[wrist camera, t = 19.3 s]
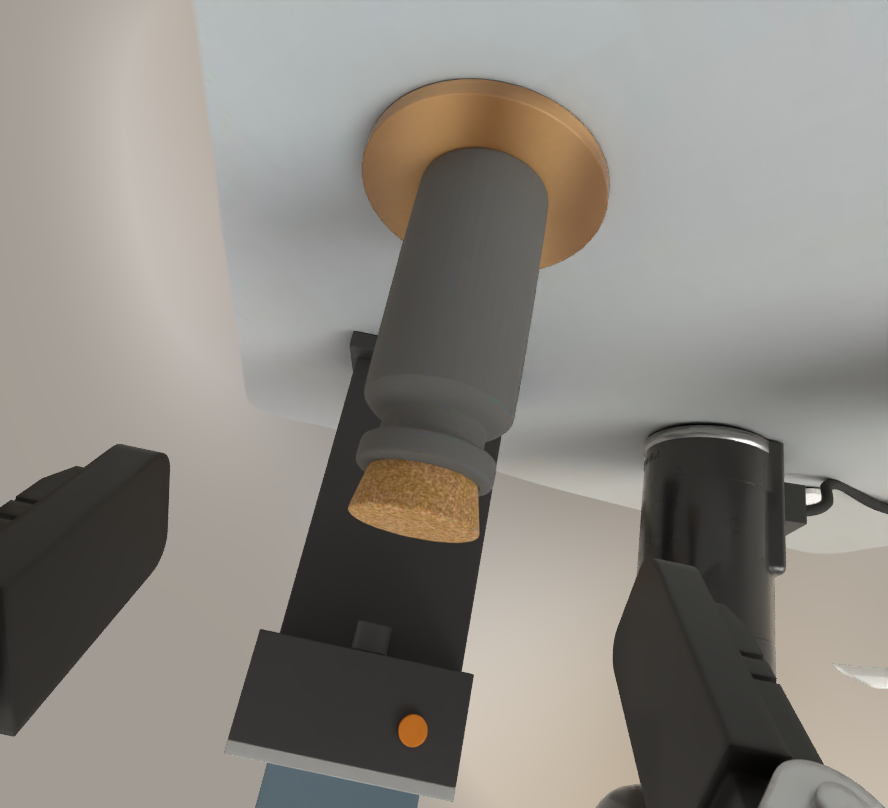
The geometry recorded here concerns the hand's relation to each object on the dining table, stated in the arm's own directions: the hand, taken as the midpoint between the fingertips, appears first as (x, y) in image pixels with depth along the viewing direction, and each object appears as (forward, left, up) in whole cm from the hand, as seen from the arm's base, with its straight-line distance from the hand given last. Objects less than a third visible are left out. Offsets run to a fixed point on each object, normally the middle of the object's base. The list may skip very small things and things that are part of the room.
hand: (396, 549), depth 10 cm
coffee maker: (+6, +29, -19) cm, 35 cm away
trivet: (+2, +11, -19) cm, 22 cm away
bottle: (+2, +11, -18) cm, 21 cm away
